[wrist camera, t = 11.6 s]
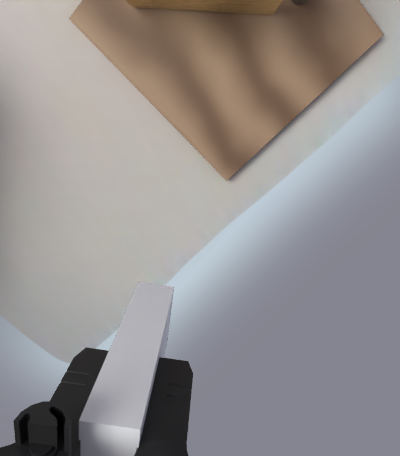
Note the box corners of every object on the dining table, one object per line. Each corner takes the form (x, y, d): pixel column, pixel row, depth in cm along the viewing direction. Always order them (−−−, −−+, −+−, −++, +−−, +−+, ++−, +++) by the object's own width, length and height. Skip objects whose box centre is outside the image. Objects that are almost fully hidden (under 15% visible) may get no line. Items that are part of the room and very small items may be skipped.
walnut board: (226, 178, 39) (226, 180, 38) (74, 21, 34) (69, 18, 33) (378, 36, 33) (383, 34, 32) (220, -178, 29) (220, -189, 27)
